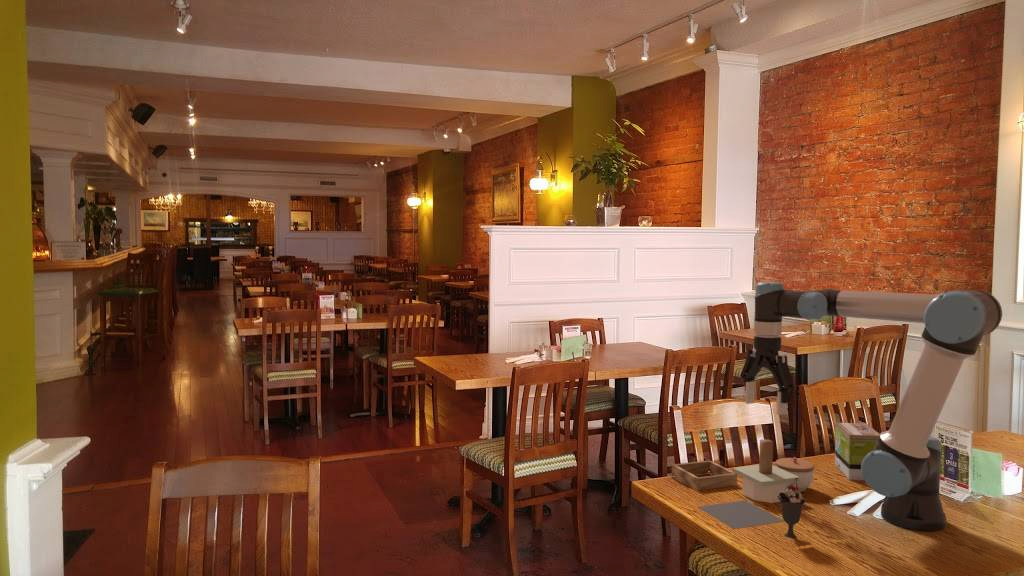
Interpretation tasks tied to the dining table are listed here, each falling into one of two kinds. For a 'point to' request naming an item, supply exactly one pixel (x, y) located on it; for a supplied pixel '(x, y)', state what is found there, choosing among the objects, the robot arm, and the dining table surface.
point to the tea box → (853, 447)
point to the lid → (765, 468)
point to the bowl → (763, 491)
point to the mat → (740, 514)
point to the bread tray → (689, 470)
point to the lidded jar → (798, 471)
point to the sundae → (791, 507)
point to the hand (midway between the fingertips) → (765, 408)
